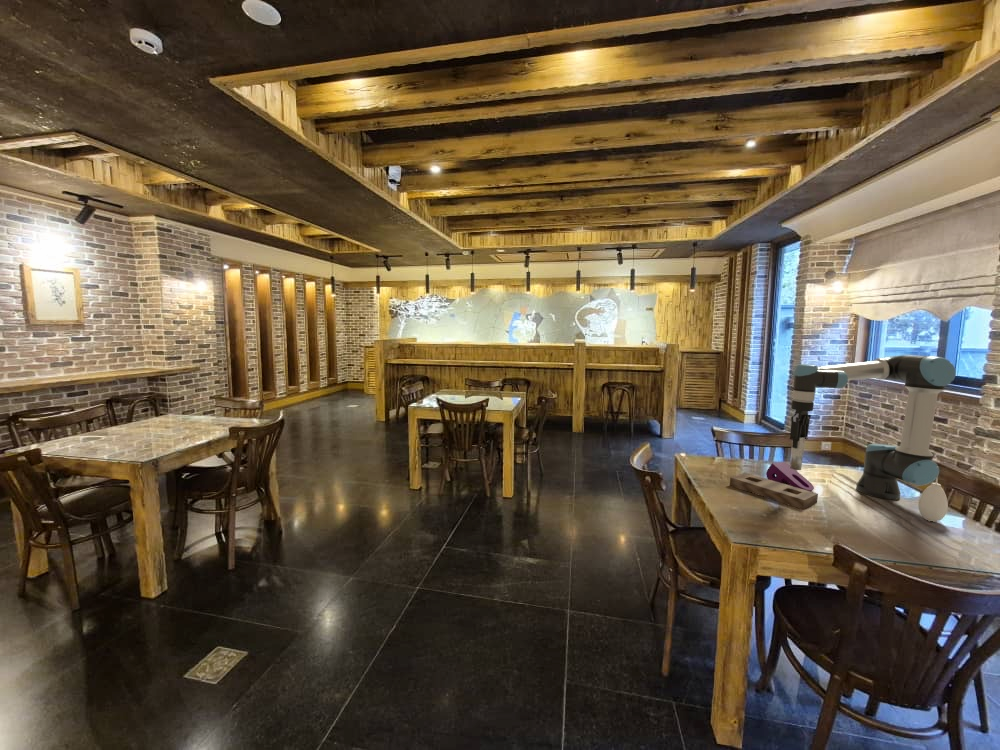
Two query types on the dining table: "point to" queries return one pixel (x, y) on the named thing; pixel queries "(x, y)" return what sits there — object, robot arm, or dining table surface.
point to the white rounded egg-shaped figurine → (933, 503)
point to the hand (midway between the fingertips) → (797, 454)
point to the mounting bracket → (788, 476)
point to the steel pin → (798, 457)
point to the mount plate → (774, 490)
